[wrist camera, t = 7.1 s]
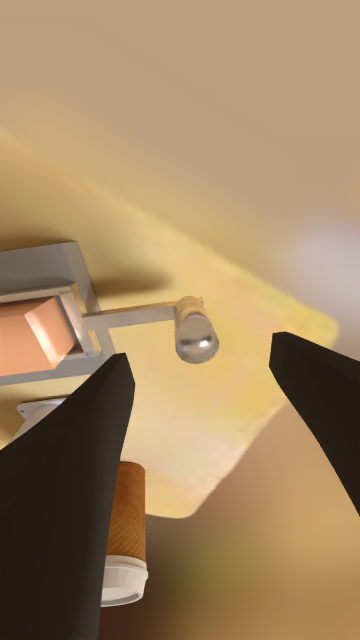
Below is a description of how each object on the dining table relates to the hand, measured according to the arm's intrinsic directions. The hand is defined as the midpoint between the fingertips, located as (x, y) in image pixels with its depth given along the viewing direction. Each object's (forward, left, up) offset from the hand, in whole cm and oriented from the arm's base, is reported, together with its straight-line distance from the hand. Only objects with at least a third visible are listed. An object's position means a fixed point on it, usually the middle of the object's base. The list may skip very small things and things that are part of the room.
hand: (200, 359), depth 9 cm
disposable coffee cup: (-30, +13, -10) cm, 34 cm away
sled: (0, +8, -7) cm, 10 cm away
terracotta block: (0, +13, -7) cm, 15 cm away
